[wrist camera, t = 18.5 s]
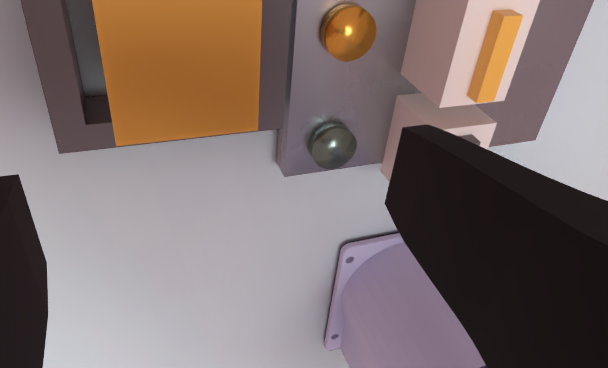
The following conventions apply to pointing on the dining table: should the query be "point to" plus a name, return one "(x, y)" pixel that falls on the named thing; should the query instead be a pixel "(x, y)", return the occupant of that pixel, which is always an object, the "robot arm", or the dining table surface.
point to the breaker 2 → (436, 123)
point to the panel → (396, 79)
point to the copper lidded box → (180, 67)
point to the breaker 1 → (466, 48)
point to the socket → (95, 110)
